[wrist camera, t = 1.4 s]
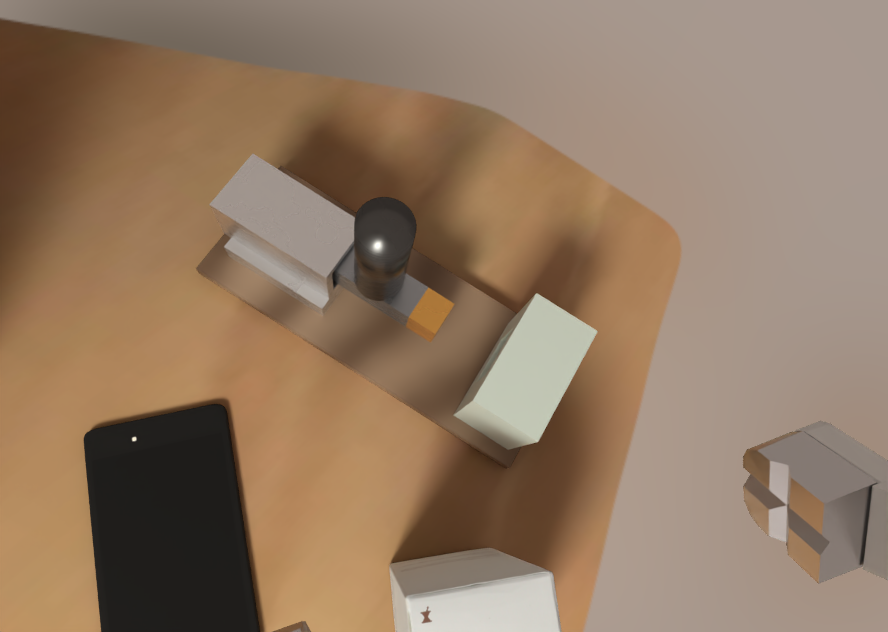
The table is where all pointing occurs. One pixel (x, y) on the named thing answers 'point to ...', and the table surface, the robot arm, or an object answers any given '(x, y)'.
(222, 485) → the cell phone
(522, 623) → the supplement box
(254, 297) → the base board
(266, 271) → the sleeve
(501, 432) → the socket
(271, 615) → the table surface
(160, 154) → the table surface
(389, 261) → the slide bolt
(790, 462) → the robot arm
